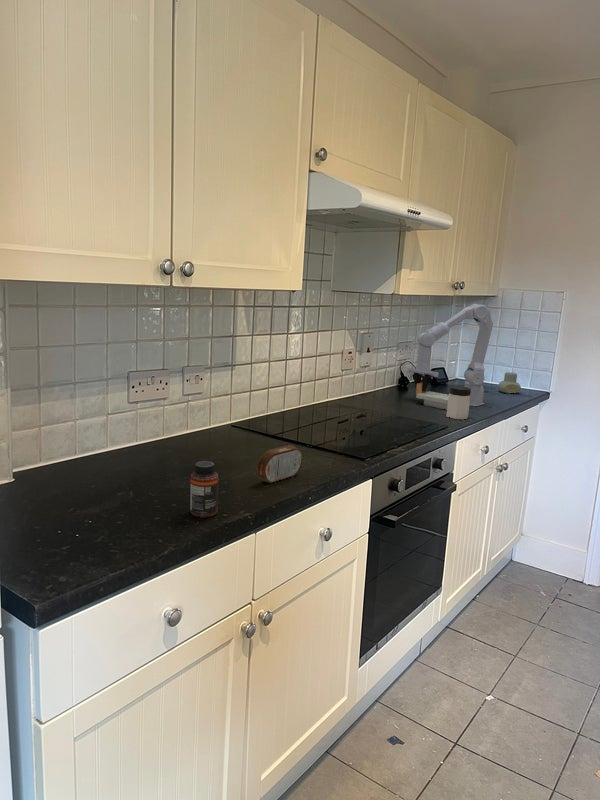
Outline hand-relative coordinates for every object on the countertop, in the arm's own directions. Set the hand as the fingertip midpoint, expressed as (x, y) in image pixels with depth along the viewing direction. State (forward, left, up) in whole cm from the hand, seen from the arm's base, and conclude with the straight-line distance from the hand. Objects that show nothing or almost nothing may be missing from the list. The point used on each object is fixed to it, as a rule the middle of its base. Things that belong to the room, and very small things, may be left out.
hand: (420, 390), depth 266 cm
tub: (0, +13, -5) cm, 14 cm away
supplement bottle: (+153, +33, -5) cm, 157 cm away
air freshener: (-62, +16, -5) cm, 64 cm away
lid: (0, +8, -2) cm, 9 cm away
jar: (+14, +25, -5) cm, 29 cm away
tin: (+124, +29, -5) cm, 127 cm away
